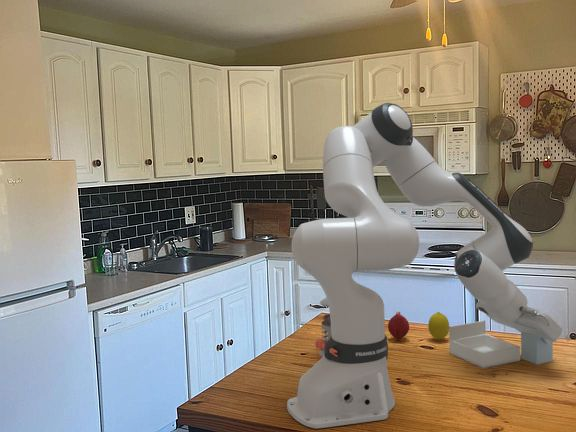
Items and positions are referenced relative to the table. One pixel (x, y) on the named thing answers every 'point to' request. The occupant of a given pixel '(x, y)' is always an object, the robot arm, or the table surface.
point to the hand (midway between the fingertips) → (538, 337)
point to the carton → (535, 349)
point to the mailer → (480, 346)
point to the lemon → (438, 326)
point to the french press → (325, 324)
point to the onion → (398, 326)
